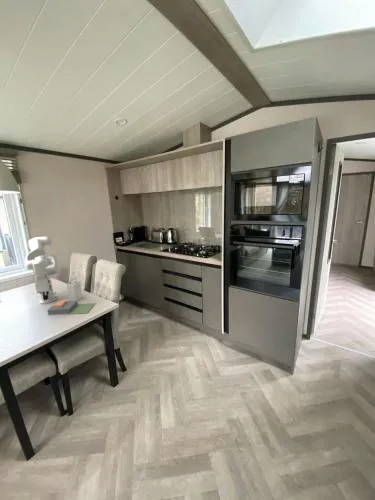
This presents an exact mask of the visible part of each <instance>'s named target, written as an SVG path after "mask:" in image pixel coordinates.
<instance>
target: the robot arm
mask: <svg viewBox="0 0 375 500" xmlns="http://www.w3.org/2000/svg"><path fill="white" fill-rule="evenodd" d="M52 245H53V240H52V238H51V236H49V235H43V236H37V237H36V236H35V237H33V238H31V239H29V240H28V246H29V249H30V250H31V251H29V252H28V254H27V255H26V256H25V267H26V269H27V270H29V271H33V272H34V277H35V278H34V279H35V280H34V285H35V290H36V292H37V294H40V298H41V299H40V300H39V304H42V305H45V304H51V303H53V302H55V301H56V300H57V299H58V298H57V296H55V295H57V292H56V291H54V288H53V283H52V279H50V277H49V276H55V275H58V274H59V271H60V268H59V263H58V259H57V256H56V255H55V254H47V253H46V251H45V247H51V246H52Z"/></svg>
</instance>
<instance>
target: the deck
mask: <svg viewBox="0 0 375 500" xmlns="http://www.w3.org/2000/svg"><path fill="white" fill-rule="evenodd" d="M78 302H79V300H78V301H71V300H67V303H66V304H65V305H64V306H63V307H61V308H54V307H53V305H52V306H50V307H49V308H48V309H46V311H47V315H48V316H49V315H50V316H51V315H52V316H53V315H70V314H69V313H70V312H71V311H72V310H73V309H74V308H75V307H76V306H77V305H78V304H79V303H78ZM56 303H57V302H55V303H54V304H56Z"/></svg>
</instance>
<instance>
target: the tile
mask: <svg viewBox="0 0 375 500" xmlns="http://www.w3.org/2000/svg"><path fill="white" fill-rule="evenodd" d="M67 301H68V300H58V301H56V302H55V303H56V304H55V303H54V304H53V305H52V306H53V307H54V308H61V307H63V306H64V305H65V304H66V303H67Z"/></svg>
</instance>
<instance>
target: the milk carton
mask: <svg viewBox="0 0 375 500" xmlns="http://www.w3.org/2000/svg"><path fill="white" fill-rule="evenodd" d="M66 287H67V292H68V298H69V301H78V302H79V300H81V299H82V298H83V293H82V287H81V281H80V280H79V279H78V278H77V277H73V278H70V279H69V280H68V282H67V283H66Z"/></svg>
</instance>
